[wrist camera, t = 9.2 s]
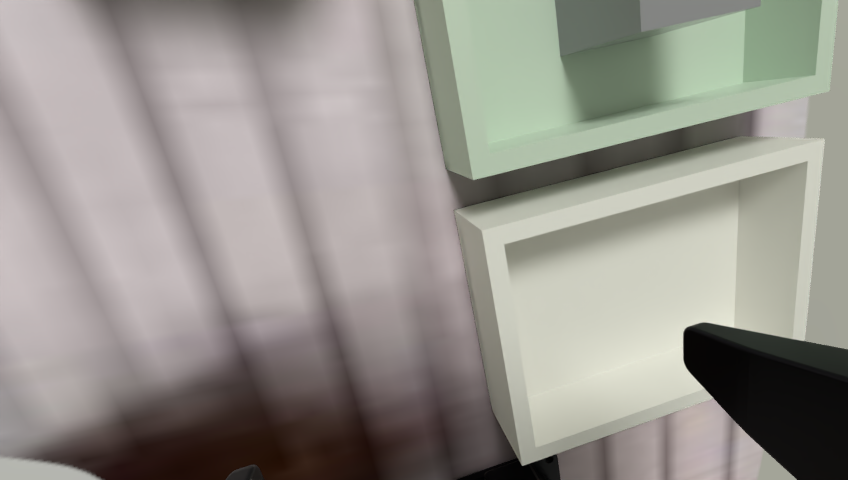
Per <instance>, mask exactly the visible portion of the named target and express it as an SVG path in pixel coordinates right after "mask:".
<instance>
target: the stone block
mask: <svg viewBox="0 0 848 480" xmlns="http://www.w3.org/2000/svg"><path fill="white" fill-rule="evenodd" d="M759 6H761V0H555V7H556V18H557V28H558V38H559V48H560V56H565V55H570V54H574V53H579V52H583V51H588V50H592V49H597V48H602V47H606V46H611V45H615V44H620V43H624V42H629V41H634V40H638V39H643V38H647V37H652V36H655V35H659V34H663V33H666V32H670V31H673V30H677V29H680V28H684V27H688V26H691V25H695V24H698V23H702V22H706V21H709V20H713V19H716V18H720V17H724V16H727V15H731V14H734V13H738V12H741V11H745V10H749V9H752V8H756V7H759Z"/></svg>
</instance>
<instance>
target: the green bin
mask: <svg viewBox="0 0 848 480" xmlns="http://www.w3.org/2000/svg"><path fill="white" fill-rule="evenodd" d="M414 4H415V9H416V15H417V20H418V25H419V30H420V36H421V41H422V46H423V51H424V57H425V62H426V67H427V72H428V78H429V83H430V88H431V93H432V98H433V104H434V109H435V114H436V119H437V125H438V130H439V135H440V140H441V146H442V151H443V156H444V161H445V167H446V169H447V170H450V171H452V172H455V173H457V174H459V175H462V176H464V177H467V178H469V179H472V180H476V179H480V178H484V177H488V176H492V175H496V174H500V173H504V172H508V171H512V170H516V169H520V168H524V167H528V166H532V165H536V164H540V163H544V162H548V161H552V160H556V159H560V158H564V157H568V156H572V155H576V154H580V153H584V152H588V151H592V150H596V149H600V148H604V147H608V146H612V145H616V144H620V143H624V142H628V141H632V140H636V139H640V138H644V137H648V136H652V135H656V134H660V133H664V132H668V131H672V130H676V129H680V128H684V127H688V126H692V125H696V124H700V123H704V122H708V121H712V120H716V119H720V118H724V117H728V116H732V115H736V114H740V113H744V112H748V111H752V110H756V109H760V108H764V107H768V106H772V105H776V104H780V103H784V102H788V101H792V100H796V99H800V98H804V97H808V96H812V95H816V94H820V93H824V92H828V91H830V81H831V70H832V61H833V51H834V40H835V30H836V20H837V10H838V0H761V6H759V7H756V8H752V9H749V10H745V11H741V12H738V13H734V14H731V15H727V16H724V17H720V18H716V19H713V20H709V21H706V22H702V23H698V24H695V25H691V26H688V27H684V28H680V29H677V30H673V31H670V32H666V33H663V34H659V35H655V36H652V37H647V38H643V39H638V40H634V41H629V42H624V43H620V44H615V45H611V46H606V47H602V48H597V49H592V50H588V51H583V52H579V53H574V54H570V55H565V56H560V48H559V38H558V28H557V18H556V7H555V0H414Z"/></svg>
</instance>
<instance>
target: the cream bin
mask: <svg viewBox="0 0 848 480" xmlns="http://www.w3.org/2000/svg"><path fill="white" fill-rule="evenodd" d="M824 142H825V139H816V138H783V137H749V136H739V137H735V138H731V139H727V140H723V141H719V142H715V143H711V144H708V145H704V146H700V147H696V148H692V149H688V150H684V151H681V152H677V153H673V154H669V155H665V156H661V157H657V158H653V159H650V160H646V161H642V162H638V163H634V164H630V165H626V166H622V167H619V168H615V169H611V170H607V171H603V172H599V173H595V174H591V175H588V176H584V177H580V178H576V179H572V180H568V181H564V182H560V183H557V184H553V185H549V186H545V187H541V188H537V189H533V190H530V191H526V192H522V193H518V194H514V195H510V196H506V197H502V198H499V199H495V200H491V201H487V202H483V203H479V204H475V205H471V206H468V207H464V208H460V209H456V210H454V214H455V219H456V224H457V229H458V235H459V240H460V245H461V250H462V256H463V261H464V266H465V271H466V276H467V282H468V287H469V292H470V297H471V303H472V308H473V313H474V318H475V324H476V329H477V334H478V339H479V344H480V350H481V355H482V360H483V365H484V371H485V376H486V381H487V386H488V392H489V397H490V402H491V407H492V411H493V413H494V415H495V417H496V419H497V420H498V422H499V424H500V426H501V428H502V430H503V432H504V433H505V435H506V437H507V439H508V441H509V443H510V444H511V446H512V448H513V450H514V452H515V454H516V456H517V457H518V459H519V461H520V463H521V465H522V466H524V465H527V464H530V463H533V462H535V461H538V460H541V459H544V458H547V457H549V456H552V455H555V454H558V453H561V452H564V451H566V450H569V449H572V448H575V447H578V446H581V445H583V444H586V443H589V442H592V441H595V440H597V439H600V438H603V437H606V436H609V435H612V434H614V433H617V432H620V431H623V430H626V429H628V428H631V427H634V426H637V425H640V424H643V423H645V422H648V421H651V420H654V419H657V418H660V417H662V416H665V415H668V414H671V413H674V412H676V411H679V410H682V409H685V408H688V407H691V406H693V405H696V404H699V403H702V402H705V401H707V400H710V399H713V397H712V396H711V395H710V394H709V393H708V392H707V391H706V390H705V389H704V388H703V386H702V385H701V384H700V383H699V382H698V381H697V380H696V379H695V378H694V377H693V376H692V375H691V374H690V372H689V371H688V370H687V368H686V366H685V364H684V361H683V332H684V330H685V328H687V327H688V326H692V325H695V324H698V323H702V322H707V323H712V324H717V325H722V326H728V327H733V328H738V329H743V330H749V331H754V332H759V333H764V334H769V335H775V336H780V337H785V338H790V339H795V340H801V341H805V334H806V324H807V314H808V303H809V293H810V284H811V273H812V263H813V253H814V243H815V232H816V223H817V213H818V203H819V192H820V182H821V172H822V162H823V152H824Z"/></svg>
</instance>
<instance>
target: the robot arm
mask: <svg viewBox="0 0 848 480" xmlns="http://www.w3.org/2000/svg"><path fill="white" fill-rule="evenodd" d="M683 361H684V364H685V366H686V368H687V370H688V371H689V372H690V374H691V375H692V376H693V377H694V378H695V379H696V380H697V381H698V382H699V383H700V384H701V385H702V386H703V388H704V389H705V390H706V391H707V392H708V393H709V394H710V395H711V396H712V397H713V398H714V399H715V400H716V401H717V403H718V404H719V405H720V406H721V407H722V408H723V409H724V410H725V411H726V412H727V413H728V414H729V415H730V416H731V418H732V419H733V420H734V421H735V422H736V423H737V424H738V425H739V426H740V427H741V428H742V429H743V430H744V431H745V432H746V433H747V434H748V435H749V436H750V437H751V438H752V439H753V440H754V441H755V442H756V443H758V444H759V445H760V446H761V447H762V448H763V449H764V450H765V451H766V452H767V453H769V454H770V455H771V456H772V457H773V458H774V459H775V460H776V461H777V462H778V463H780V464H781V465H782V466H783V467H784V468H785V469H786V470H787V471H788V472H789V473H790V474H792V475H793V476H794V477H795V478H796V479H797V480H848V349H842V348H837V347H832V346H827V345H821V344H816V343H811V342H806V341H801V340H795V339H790V338H785V337H780V336H775V335H769V334H764V333H759V332H754V331H749V330H743V329H738V328H733V327H728V326H722V325H717V324H712V323H707V322H702V323H698V324H695V325H692V326H688V327H687V328H685V330H684V332H683ZM226 480H264V478H263V476H262V473H261V471H260V469H259V467H258V466H257V465H250V466H247V467H243V468H240V469H237V470H235V471H233V472H232V473H231V474H230V475H229V476H228V477H227V479H226ZM458 480H560V473H559V465H558V458H557V455H556V454H555V455H552V456H549V457H547V458H544V459H541V460H538V461H535V462H533V463H530V464H527V465H524V466H522V465H521V463H520V461H519V459H518V458H517V459H514V460H511V461H508V462H505V463H502V464H500V465H497V466H494V467H491V468H488V469H485V470H483V471H480V472H477V473H474V474H471V475H468V476H465V477H463V478H460V479H458Z"/></svg>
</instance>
